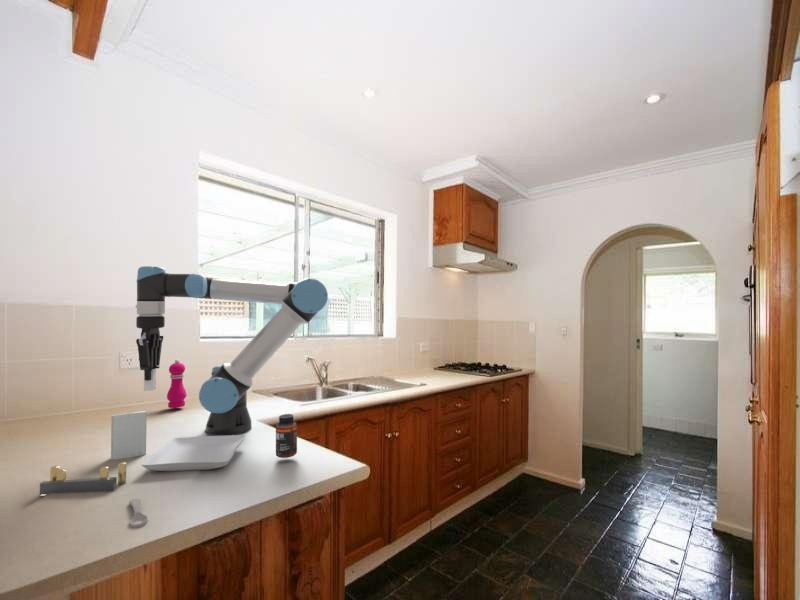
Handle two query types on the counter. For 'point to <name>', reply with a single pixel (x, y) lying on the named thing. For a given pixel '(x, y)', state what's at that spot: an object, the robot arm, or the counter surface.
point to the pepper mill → (176, 386)
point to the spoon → (137, 514)
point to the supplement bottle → (286, 436)
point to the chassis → (82, 481)
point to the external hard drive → (128, 435)
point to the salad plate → (194, 453)
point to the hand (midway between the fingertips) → (149, 390)
